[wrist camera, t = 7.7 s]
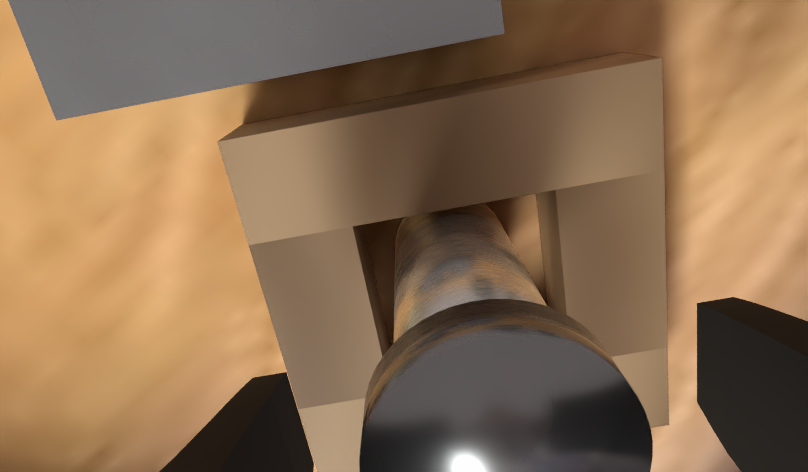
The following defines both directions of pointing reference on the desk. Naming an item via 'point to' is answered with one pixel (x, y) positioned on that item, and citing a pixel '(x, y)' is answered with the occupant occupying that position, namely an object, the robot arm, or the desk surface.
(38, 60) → the mount
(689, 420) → the desk surface
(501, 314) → the lock pin
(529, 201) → the desk surface
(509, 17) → the desk surface
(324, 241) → the socket
